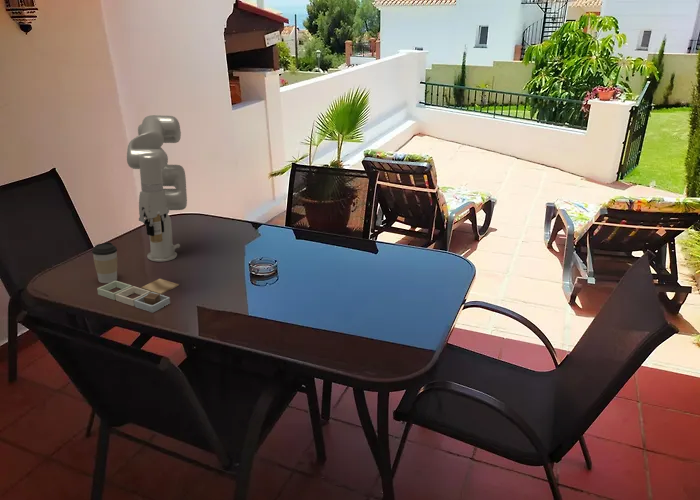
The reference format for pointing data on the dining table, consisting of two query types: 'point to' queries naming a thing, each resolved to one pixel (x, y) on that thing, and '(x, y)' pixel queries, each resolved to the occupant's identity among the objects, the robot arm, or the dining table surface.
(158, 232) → the sprinkles bottle
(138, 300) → the tray blue
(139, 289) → the tray cream
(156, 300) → the walnut cube
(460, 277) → the dining table surface
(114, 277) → the coffee cup
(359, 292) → the dining table surface
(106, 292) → the tray sage
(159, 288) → the coaster
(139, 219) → the robot arm
